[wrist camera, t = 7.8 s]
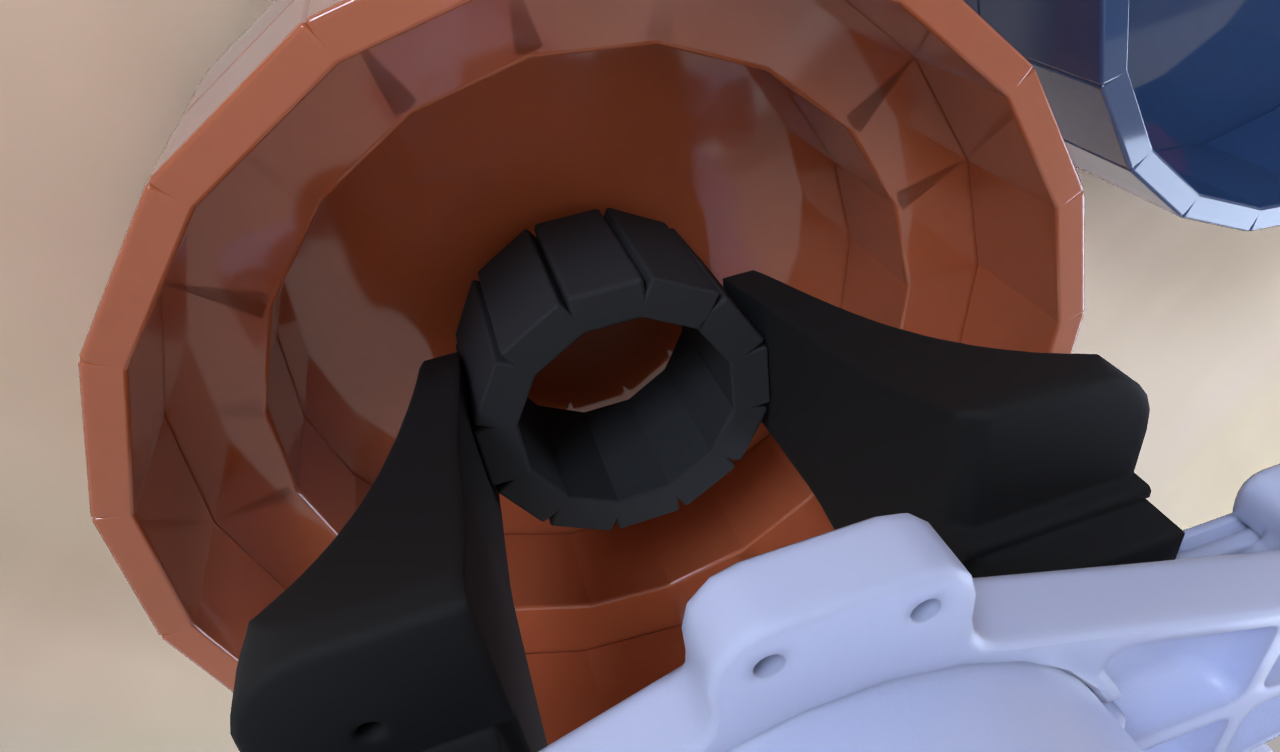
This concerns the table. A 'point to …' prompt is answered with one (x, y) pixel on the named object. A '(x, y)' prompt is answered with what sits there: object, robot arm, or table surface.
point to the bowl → (517, 200)
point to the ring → (628, 430)
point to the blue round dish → (1162, 97)
